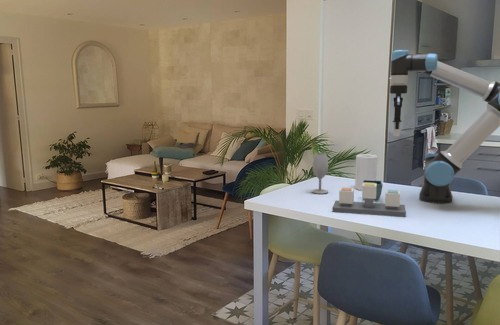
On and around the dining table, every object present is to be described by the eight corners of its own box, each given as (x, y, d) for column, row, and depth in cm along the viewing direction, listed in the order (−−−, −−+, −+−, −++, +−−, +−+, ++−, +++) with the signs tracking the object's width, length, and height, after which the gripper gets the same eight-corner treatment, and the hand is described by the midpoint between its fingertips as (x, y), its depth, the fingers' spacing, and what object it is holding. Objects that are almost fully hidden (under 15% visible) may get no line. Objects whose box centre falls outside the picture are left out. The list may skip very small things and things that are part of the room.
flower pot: (382, 202, 207) (382, 184, 206) (363, 201, 209) (363, 183, 208) (380, 198, 216) (381, 180, 214) (362, 197, 218) (362, 180, 216)
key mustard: (376, 195, 195) (376, 182, 194) (375, 198, 189) (376, 185, 188) (362, 194, 197) (363, 181, 196) (361, 198, 191) (362, 184, 190)
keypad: (404, 208, 196) (405, 194, 194) (405, 217, 183) (406, 201, 182) (335, 204, 205) (335, 190, 203) (332, 211, 192) (332, 196, 191)
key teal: (399, 203, 192) (399, 190, 191) (399, 206, 187) (400, 193, 186) (385, 202, 194) (385, 189, 193) (385, 206, 189) (385, 192, 188)
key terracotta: (353, 200, 198) (353, 187, 197) (352, 203, 193) (353, 190, 192) (340, 199, 200) (340, 187, 199) (339, 203, 194) (339, 189, 193)
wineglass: (330, 191, 230) (331, 153, 227) (324, 195, 223) (325, 155, 219) (315, 189, 235) (316, 152, 231) (309, 193, 228) (309, 154, 224)
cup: (354, 186, 243) (355, 154, 239) (374, 186, 241) (375, 154, 238) (356, 190, 232) (357, 157, 229) (377, 191, 230) (378, 157, 227)
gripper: (390, 85, 204) (387, 134, 208) (390, 84, 192) (388, 137, 195) (406, 84, 202) (404, 134, 206) (408, 84, 189) (405, 137, 193)
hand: (396, 136), depth 200 cm, fingers closed
